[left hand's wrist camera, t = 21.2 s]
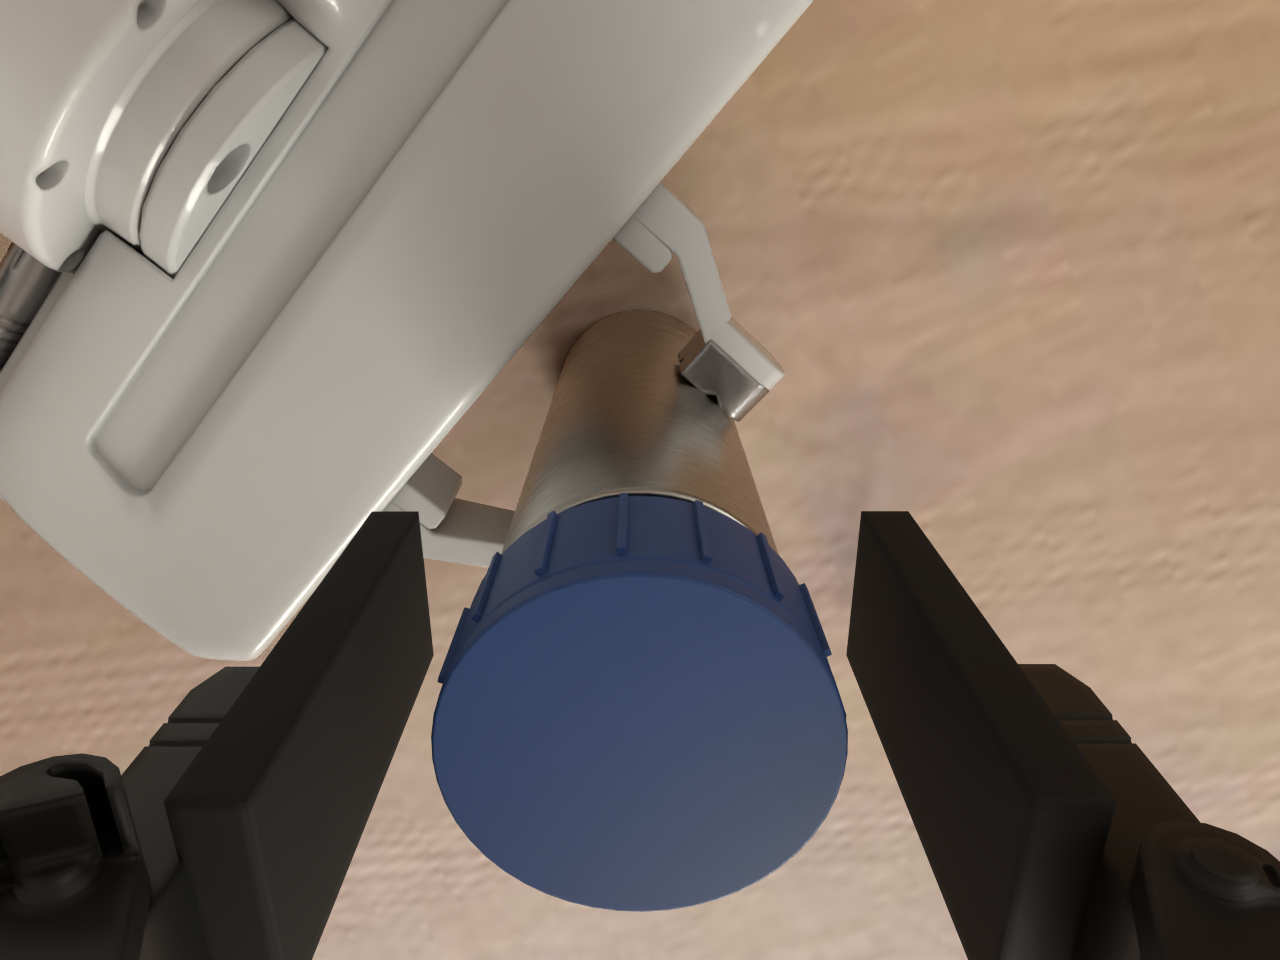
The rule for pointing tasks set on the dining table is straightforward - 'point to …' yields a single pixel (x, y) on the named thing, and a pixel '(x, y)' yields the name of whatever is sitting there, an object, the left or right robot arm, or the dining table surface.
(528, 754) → the lid
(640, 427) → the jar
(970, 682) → the left robot arm
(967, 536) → the dining table surface
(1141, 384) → the dining table surface
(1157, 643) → the dining table surface
